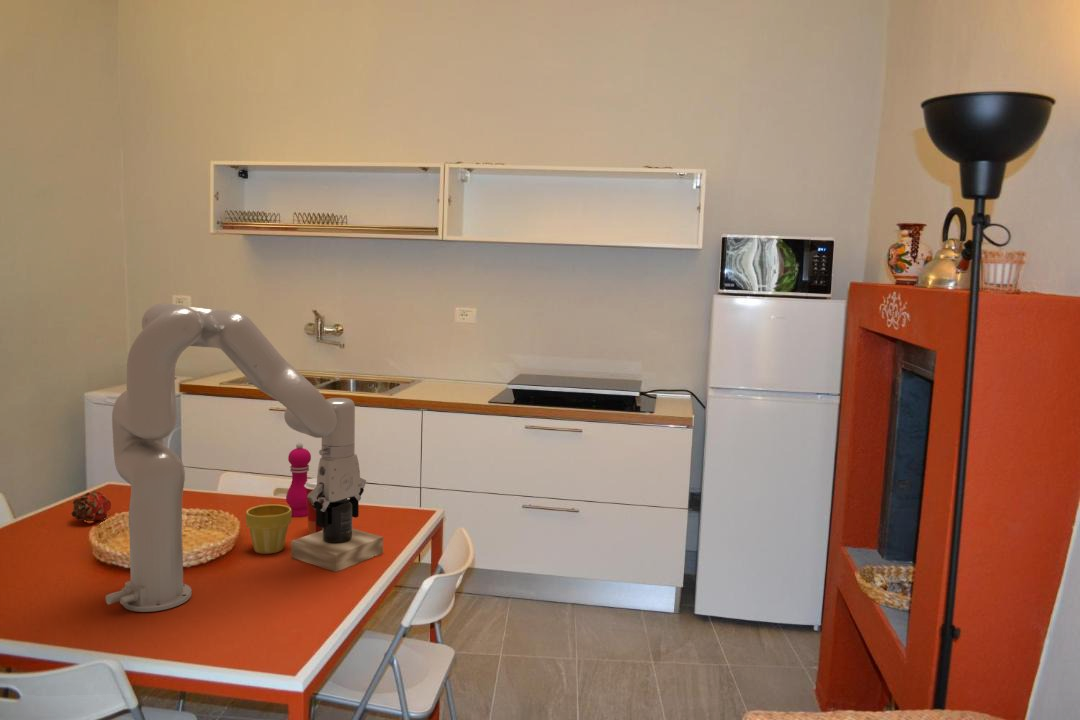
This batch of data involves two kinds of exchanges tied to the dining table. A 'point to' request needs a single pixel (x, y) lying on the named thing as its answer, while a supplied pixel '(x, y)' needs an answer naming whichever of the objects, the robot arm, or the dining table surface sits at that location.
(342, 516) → the supplement bottle
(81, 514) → the dragon fruit
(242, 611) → the dining table surface
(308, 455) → the pepper mill
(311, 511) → the paper cup
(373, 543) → the beech block
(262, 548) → the plant pot
